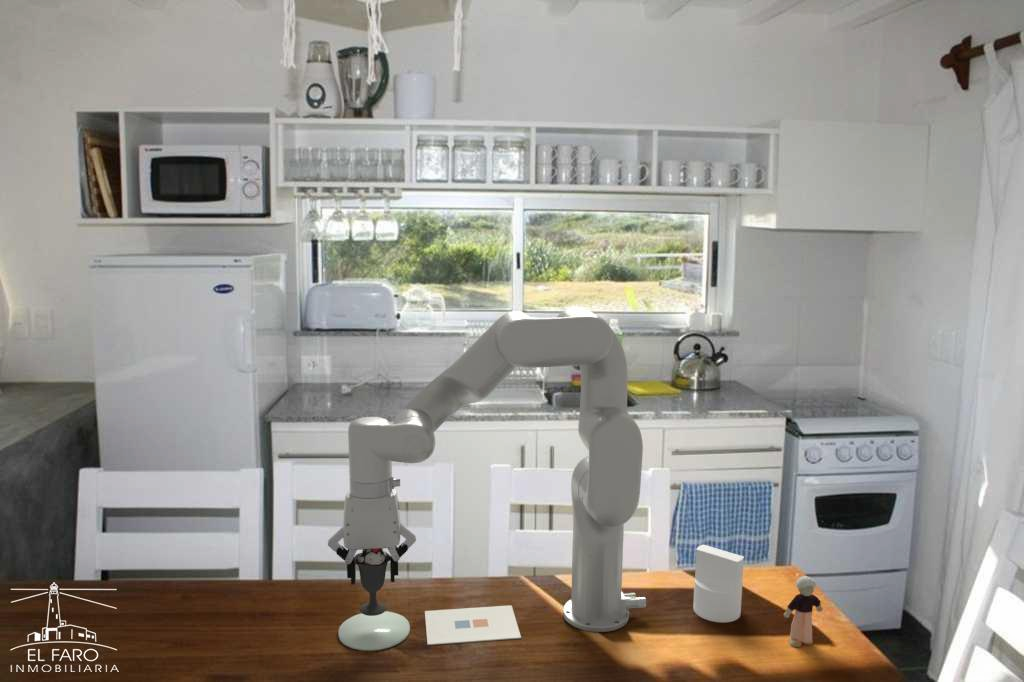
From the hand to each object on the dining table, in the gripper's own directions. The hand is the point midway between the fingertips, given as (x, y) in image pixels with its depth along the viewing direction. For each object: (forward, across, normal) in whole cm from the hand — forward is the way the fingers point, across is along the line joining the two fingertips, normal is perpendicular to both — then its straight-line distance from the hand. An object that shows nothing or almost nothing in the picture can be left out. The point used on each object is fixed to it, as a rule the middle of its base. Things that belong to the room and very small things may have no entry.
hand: (373, 579), depth 149 cm
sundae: (+6, 0, 0) cm, 6 cm away
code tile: (+10, -18, 0) cm, 21 cm away
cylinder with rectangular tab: (+10, -66, +1) cm, 67 cm away
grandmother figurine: (+10, -77, +14) cm, 79 cm away
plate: (+10, 0, 0) cm, 10 cm away
